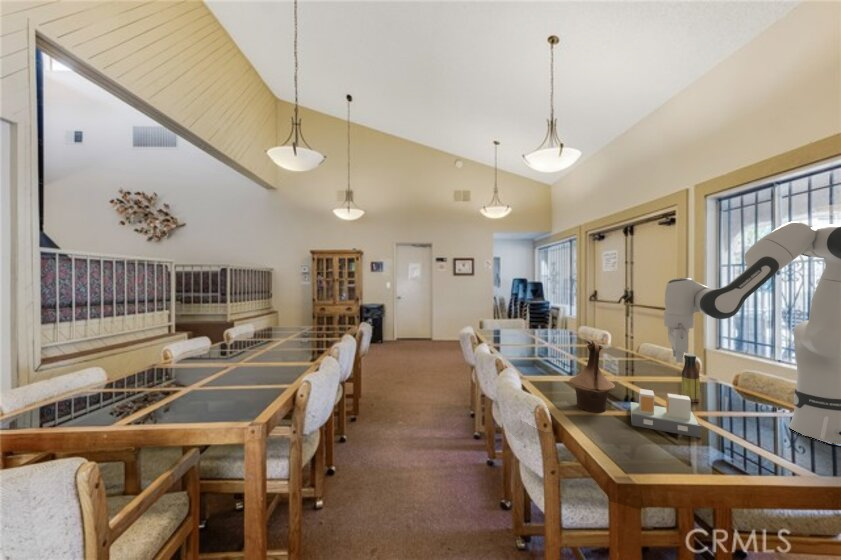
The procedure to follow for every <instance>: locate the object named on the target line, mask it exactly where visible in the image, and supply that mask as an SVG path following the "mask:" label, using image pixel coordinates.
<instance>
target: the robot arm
mask: <svg viewBox="0 0 841 560" xmlns="http://www.w3.org/2000/svg"><path fill="white" fill-rule="evenodd" d="M800 255H801V256H803V257H804V256H805V257H809V258H812V257H813V258H818V259H823V260H824V262H825V263H824V264H825V267H824V269H823V271H822V273H821V276H820V277H819V278H820V279H819V281H818V283H817V285H816V288H815V290H814V292H813V294H812V297H811V301H810V303H811V306H810V311H809V317H808V320H807V319H806V320H804V321H801V322H799V323H798V324H797V325H796V326H795V327H794V328H793V342H794V345H793V346H794V354H795V362H796V388H795V389H794V393H793V404H794V410H793V414H792V418H791V421H790V423H789V425H788V428H789V427H790V428H791V429H792V430H794V431H796V432H799V433H801V434H804V435H806V436H809V437H812V438H815V439H820V440H823V441H827V442H830V443H834V444H841V224H835V223H834V224H826V225H811V226H809V225H808V224H806V223H803V222H799V221H790V222H787V223H785V224H782V225H781V226H779V227H777V228H775V229H774V230H772V231H770V232H769V233H767V234H766V235H764V236H762V237H761V238H760V239H758V241H757V242H755V243H754V244H753V245H752V246H750V248H749V249H748V250H746V252H745V253H744V261H745V264H746V265H747V266H746V268H745V270H744V271H743V272H741V273H740V274H739V275H738V276H736V278H734V279H733V280H731V282H730V283H728V284H727V285H725V286H722V287H718V288H714V287H713V288H712V287H709V286H706V285H704V284H702V283H700V282H697V281H696V280H694V279H693V278H690V277H684V278H683V277H681V278H675V279H671V280H669V281H668V282H667V284H666V286H665V290H664V291H665V292H664V304H665V308H664V309H665V310H664V313H663V314H664V315H663V326H664V327H667V334H668V341H669V343H670V345H671V348H672V357H674V358H675V362H676V363H678V364H679V363H680V364H682V363H683V359H684V355H685V353H687V352H689V333H690V329H694V322H695V321H694V318H695V313H699V314H703V315H705V316H706V315H707V316H709V317H711V318H713V319H716V320H727V319H729V318H732V317H734V316H735V315H737V313H739V311H740V309H742V306H743V304H744V302H745V301H746V300H747V299H748V298H749V297H750V296H751V295H752V294H753V293H755V292H756V291H758V289H759V288H761V287H762V286H763V285H764V284H765V283H767V281H769V280H771V278H772V277H773V276H774V275H776V274H777V273H778V272H779V271H780V270H782V269H784V268H785V267H786V266H787V265H789V264H790V263H792V262H793V261H794V260H796V259H797V258H799V257H800ZM792 430H791V431H792ZM794 431H793V432H794ZM796 432H795V433H796ZM812 438H811V439H812ZM815 439H814V440H815ZM836 442H837V443H836Z"/></svg>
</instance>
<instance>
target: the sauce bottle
mask: <svg viewBox="0 0 841 560" xmlns="http://www.w3.org/2000/svg"><path fill="white" fill-rule="evenodd" d="M683 359H684V366H683V369H682V371H681V395H683V396H689V398H690V400H691V403H694V402H697V403H699V402H700V398H701V394H700V393H701V392H700V391H701V390H700V385H701V384H700V372H699V370H698V367H697V366H696V359H697V355H694V354H690V353H687V354H685V353H684V355H683Z"/></svg>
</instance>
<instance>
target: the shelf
mask: <svg viewBox="0 0 841 560" xmlns="http://www.w3.org/2000/svg"><path fill="white" fill-rule="evenodd" d="M629 405H630V409H629V410H630V419H631V420H630V421H631V426H635V427H639V428H646V429H649V430H656V431H662V432H666V433H667V432H668V433H672V434H676V435H677V434H678V435H683V436H689V437H694V438H699V439H700V438H702V425H701V424H699V422H698V421H697V419H696V416H695V415H694V413H693V411H691V415H690V419H684V418H678V417H672V416H668V413H667V411H666V406H659V405H654V414H648V413H642V412H640V410H639V402H632V401H630V404H629Z"/></svg>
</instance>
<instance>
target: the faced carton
mask: <svg viewBox="0 0 841 560" xmlns="http://www.w3.org/2000/svg"><path fill="white" fill-rule="evenodd" d="M638 391H639V392H638V403H639V410H640V412H642V413H648V414H654V406H655V393H654V390H653V389H652V390H650V389H644V388H643V389H642V388H638Z"/></svg>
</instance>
